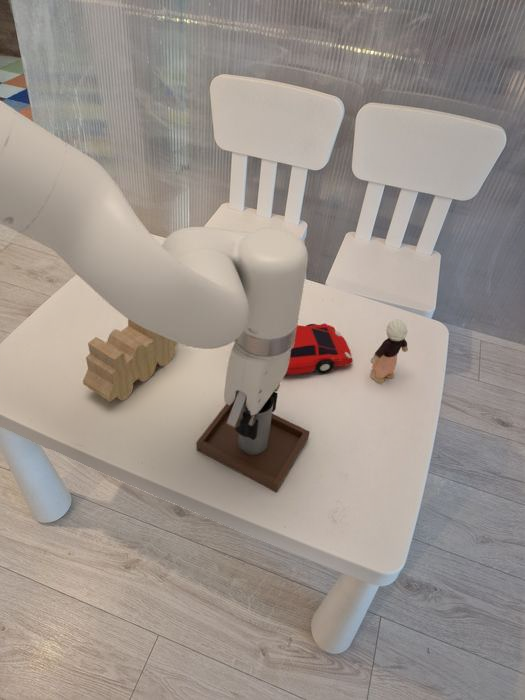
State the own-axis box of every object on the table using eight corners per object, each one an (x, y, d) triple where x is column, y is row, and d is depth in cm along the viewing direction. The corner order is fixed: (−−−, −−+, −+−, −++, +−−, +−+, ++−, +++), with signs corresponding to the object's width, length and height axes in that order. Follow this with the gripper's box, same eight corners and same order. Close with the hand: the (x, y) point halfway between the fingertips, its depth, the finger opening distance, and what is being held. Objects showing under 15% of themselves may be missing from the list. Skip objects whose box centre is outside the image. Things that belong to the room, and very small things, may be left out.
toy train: (86, 395, 84) (74, 352, 77) (158, 337, 95) (154, 294, 87) (111, 412, 82) (101, 369, 75) (182, 351, 93) (180, 308, 85)
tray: (196, 450, 79) (196, 442, 77) (232, 402, 85) (233, 394, 84) (276, 492, 75) (277, 485, 73) (308, 439, 81) (309, 431, 80)
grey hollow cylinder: (267, 456, 78) (273, 414, 71) (237, 454, 78) (239, 412, 70) (267, 431, 81) (273, 388, 74) (238, 429, 81) (241, 386, 74)
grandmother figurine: (385, 359, 95) (403, 306, 86) (402, 372, 93) (423, 319, 84) (357, 379, 91) (373, 326, 82) (374, 393, 89) (393, 340, 80)
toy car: (356, 369, 92) (362, 349, 89) (246, 388, 88) (248, 368, 84) (335, 329, 99) (339, 309, 96) (232, 344, 95) (232, 324, 91)
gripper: (270, 280, 69) (261, 372, 82) (198, 360, 58) (200, 451, 71) (322, 301, 67) (304, 392, 80) (257, 388, 56) (248, 477, 69)
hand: (255, 419), depth 75 cm, fingers open, 4 cm apart
